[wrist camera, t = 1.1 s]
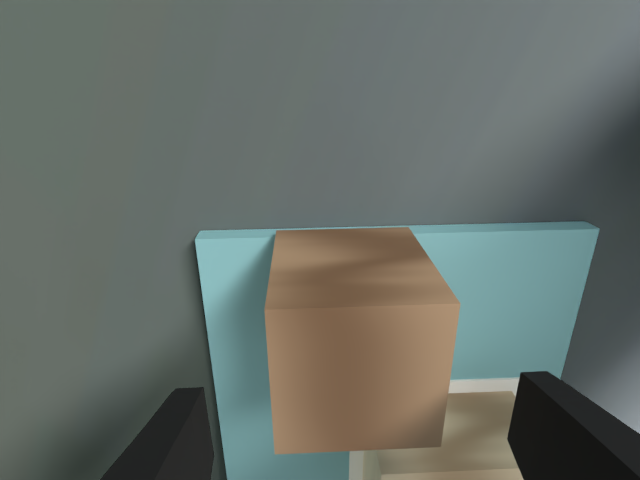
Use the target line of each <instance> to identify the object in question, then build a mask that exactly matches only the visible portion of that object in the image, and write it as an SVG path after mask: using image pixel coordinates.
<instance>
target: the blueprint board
mask: <svg viewBox="0 0 640 480" xmlns="http://www.w3.org/2000/svg"><path fill="white" fill-rule="evenodd" d="M391 227H409V228H410V230H411V231H412V233H413V234H414V236H415V237H416V239H417V240H418V242H419V243H420V245H421V246H422V248H423V249H424V250H425V252H426V253H427V255H428V256H429V258H430V259H431V261H432V262H433V264H434V265H435V267H436V268H437V270H438V271H439V273H440V274H441V275H442V277H443V278H444V280H445V281H446V283H447V284H448V286H449V287H450V289H451V290H452V292H453V293H454V295H455V296H456V298H457V299H458V301H459V302H460V303H461V304H460V311H459V318H458V326H457V333H456V340H455V348H454V355H453V362H452V370H451V377H450V384H449V392H448V393H472V392H497V391H512V392H513V394H514V395H515V397H516V393H517V388H518V383H519V378H520V373H521V372H536V371H548V372H549V373H551V374H552V375H554V376H556V377H557V378H559V379H560V378H561V375H562V371H563V367H564V363H565V359H566V356H567V352H568V348H569V344H570V340H571V337H572V333H573V329H574V325H575V321H576V318H577V314H578V310H579V306H580V302H581V299H582V295H583V291H584V287H585V283H586V280H587V276H588V272H589V268H590V264H591V261H592V257H593V253H594V249H595V245H596V242H597V238H598V234H599V230H600V229H599V228H597V227H595V226H593V225H591V224H590V223H588V222H586V221H574V222H533V223H493V224H453V225H412V226H372V227H332V228H292V229H251V230H211V231H200V232H199V233H198V235H197V237H196V238H195V244H196V252H197V259H198V267H199V274H200V281H201V289H202V296H203V304H204V311H205V319H206V326H207V333H208V341H209V348H210V356H211V363H212V370H213V378H214V385H215V393H216V400H217V408H218V415H219V422H220V430H221V437H222V445H223V452H224V459H225V467H226V474H227V480H362V478H363V454H364V451H342V452H319V453H296V454H275V452H274V438H273V424H272V410H271V396H270V382H269V368H268V353H267V339H266V325H265V311H264V309H265V302H266V296H267V289H268V282H269V276H270V269H271V262H272V256H273V249H274V242H275V236H276V230H311V229H351V228H391Z"/></svg>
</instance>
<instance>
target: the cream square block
mask: <svg viewBox="0 0 640 480" xmlns="http://www.w3.org/2000/svg"><path fill="white" fill-rule="evenodd" d="M515 398H516V397H515V395H514V394H513V392H512V391H497V392H472V393H448V399H447V406H446V414H445V421H444V428H443V436H442V443H441V447H432V448H410V449H387V450H364V454H363V478H362V480H524V479H523V477H522V475H521V472H520V470H519V468H518V465H517V463H516V460H515V458H514V455H513V453H512V450H511V448H510V445H509V443H508V440H507V437H508V432H509V427H510V422H511V417H512V412H513V407H514V402H515Z"/></svg>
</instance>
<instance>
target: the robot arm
mask: <svg viewBox="0 0 640 480" xmlns="http://www.w3.org/2000/svg"><path fill="white" fill-rule="evenodd" d="M507 440H508V443H509V445H510V448H511V450H512V453H513V455H514V458H515V460H516V463H517V465H518V468H519V470H520V472H521V475H522V477H523V479H524V480H640V434H639V433H637V432H636V431H634V430H633V429H631V428H630V427H628V426H627V425H626V424H624V423H623V422H621V421H620V420H618V419H617V418H615V417H614V416H612V415H611V414H610V413H608V412H607V411H605V410H604V409H602V408H601V407H600V406H598V405H597V404H595V403H594V402H592V401H591V400H589V399H588V398H587V397H585V396H584V395H582V394H581V393H579V392H578V391H576V390H575V389H574V388H572V387H571V386H569V385H568V384H566V383H565V382H563V381H562V380H560V379H559V378H557V377H556V376H554V375H552V374H551V373H549V372H548V371H536V372H521V373H520V378H519V383H518V388H517V393H516V398H515V402H514V407H513V412H512V417H511V422H510V427H509V432H508V437H507ZM213 458H214V452H213V445H212V439H211V432H210V426H209V420H208V413H207V407H206V401H205V394H204V388H203V387H199V388H178V389H175V390H174V391H173V392H172V393H171V394H170V395H169V397H168V398H167V399H166V400H165V402H164V403H163V404H162V405H161V407H160V408H159V409H158V411H157V412H156V413H155V414H154V416H153V417H152V418H151V419H150V421H149V422H148V423H147V424H146V426H145V427H144V428H143V429H142V430H141V432H140V433H139V434H138V435H137V437H136V438H135V439H134V440H133V441H132V443H131V444H130V445H129V446H128V447H127V449H126V450H125V451H124V452H123V453H122V454H121V456H120V457H119V458H118V459H117V460H116V461H115V463H114V464H113V465H112V466H111V467H110V469H109V470H108V471H107V472H106V473H105V474H104V475H103V477H102V478H101V479H100V480H210V479H211V472H212V465H213Z"/></svg>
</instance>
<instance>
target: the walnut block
mask: <svg viewBox="0 0 640 480" xmlns="http://www.w3.org/2000/svg"><path fill="white" fill-rule="evenodd" d="M460 304H461V303H460V302H459V301H458V299H457V298H456V296H455V295H454V293H453V292H452V290H451V289H450V287H449V286H448V284H447V283H446V281H445V280H444V278H443V277H442V275H441V274H440V273H439V271H438V270H437V268H436V267H435V265H434V264H433V262H432V261H431V259H430V258H429V256H428V255H427V253H426V252H425V250H424V249H423V248H422V246H421V245H420V243H419V242H418V240H417V239H416V237H415V236H414V234H413V233H412V231H411V230H410V228H409V227H391V228H351V229H311V230H276V236H275V242H274V249H273V256H272V262H271V269H270V276H269V282H268V289H267V296H266V302H265V309H264V311H265V325H266V339H267V353H268V368H269V382H270V396H271V410H272V424H273V438H274V452H275V454H296V453H319V452H342V451H364V450H387V449H410V448H432V447H441V443H442V436H443V428H444V421H445V414H446V406H447V399H448V392H449V384H450V377H451V370H452V362H453V355H454V348H455V340H456V333H457V326H458V318H459V311H460Z"/></svg>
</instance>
